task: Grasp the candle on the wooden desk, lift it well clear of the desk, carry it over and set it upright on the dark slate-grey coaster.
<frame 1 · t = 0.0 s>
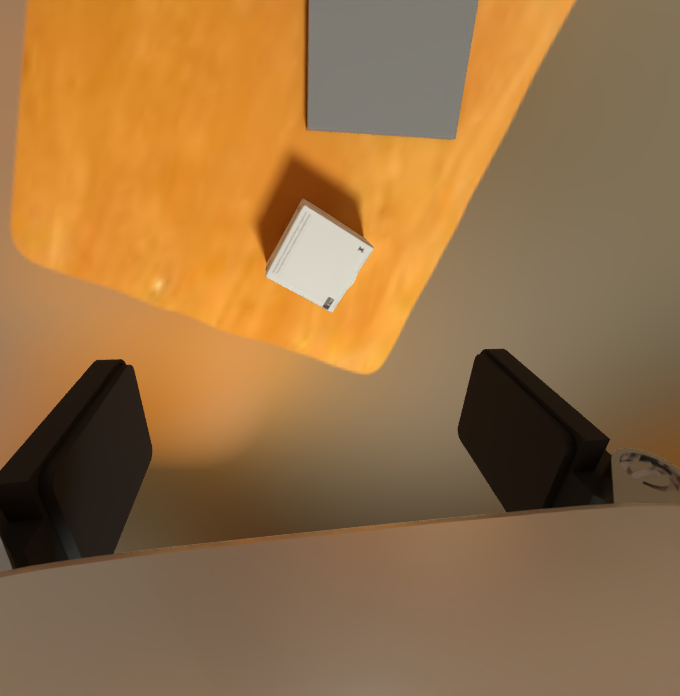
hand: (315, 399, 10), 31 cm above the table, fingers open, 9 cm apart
small box: (314, 249, 40), on the table
slate coaster: (388, 42, 32), on the table
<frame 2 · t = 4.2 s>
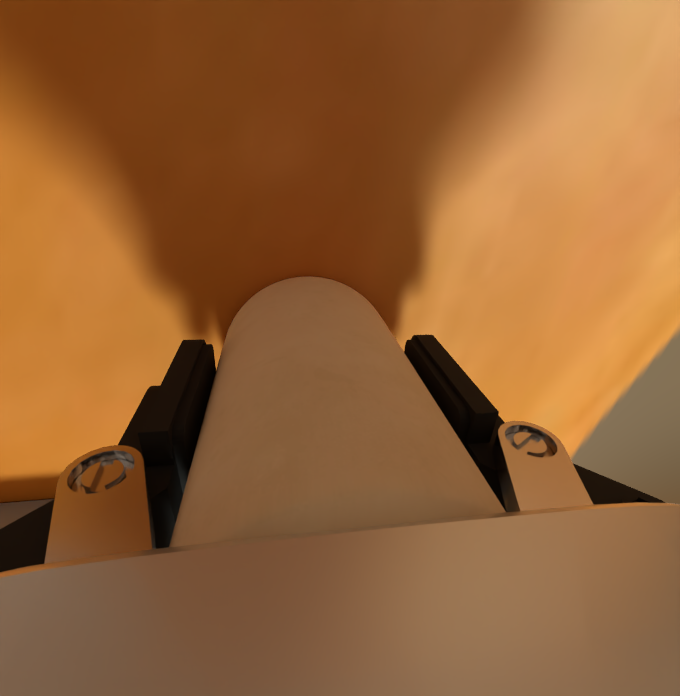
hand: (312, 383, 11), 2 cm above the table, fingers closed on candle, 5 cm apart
candle: (307, 348, 13), on the table, touching gripper
slate coaster: (200, 592, 18), on the table
when the fingers open (5 cm above the table, at t = 11.1 s): candle drops 1 cm, resting on slate coaster.
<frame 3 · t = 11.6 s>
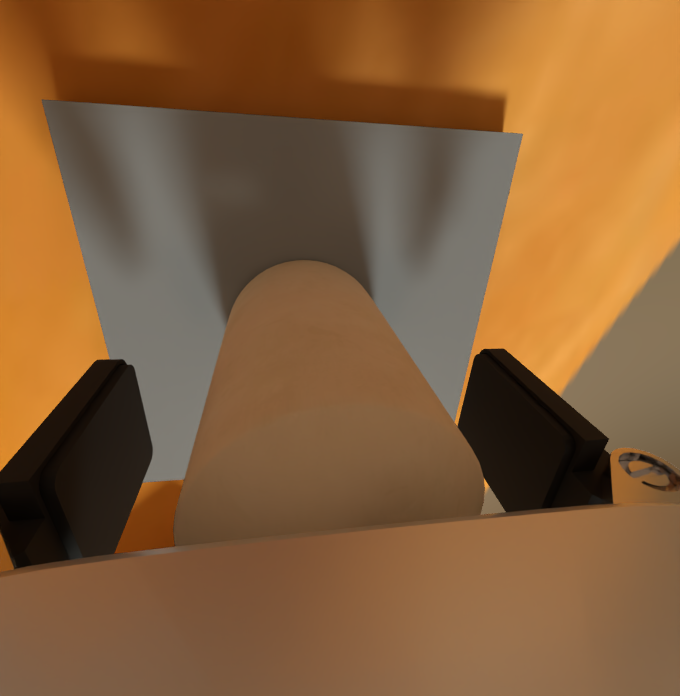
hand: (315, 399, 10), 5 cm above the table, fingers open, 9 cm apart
candle: (303, 328, 14), point 1 cm above the table, touching slate coaster
slate coaster: (302, 321, 15), on the table
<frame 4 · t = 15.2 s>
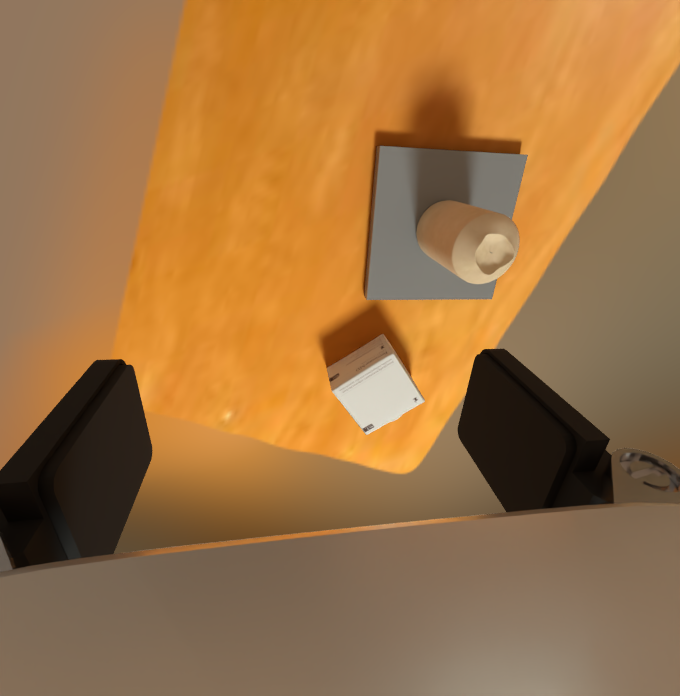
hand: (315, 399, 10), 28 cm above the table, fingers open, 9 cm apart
small box: (369, 371, 45), on the table
candle: (441, 229, 37), point 1 cm above the table, touching slate coaster
slate coaster: (437, 229, 38), on the table
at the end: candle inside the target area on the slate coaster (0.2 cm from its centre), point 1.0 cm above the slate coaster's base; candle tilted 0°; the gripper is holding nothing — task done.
